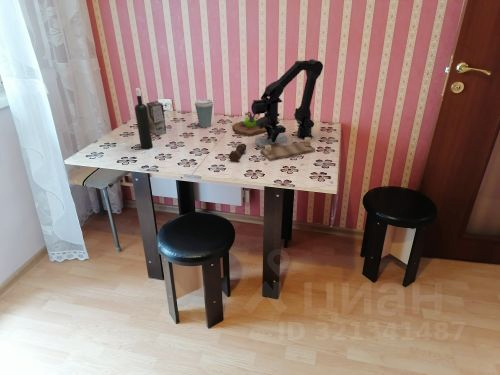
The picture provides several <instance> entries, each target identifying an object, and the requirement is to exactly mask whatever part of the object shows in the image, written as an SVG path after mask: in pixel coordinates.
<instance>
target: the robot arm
mask: <svg viewBox="0 0 500 375" xmlns="http://www.w3.org/2000/svg"><path fill="white" fill-rule="evenodd" d="M323 69H324V64H323V62H321V61H320V60H317V59H314V58H311V59H309V60H295V62H294V64H293V65H292V66H291V67H289V69H288V70H286V72H284V74H283V75H282V76H281V77H280V78H279V79H277V80H275V81H273V82H271V83H270V84H268V85H267V86H266V87H265V89H264V91H263V93H262V95H261V96H260V99H254V100H252V103H251V106H250V107H251V114H253V115H255V114H256V115H258V114H260V115H261V114H264V115H263V116H262V117H260V118H257V120H256V121H255V122H256V125H257V127H259V128H260V129H262V128H263V127H264V128H265V129H266V136H272V142H275V140H276V139H277V137H278V135H279V134H283V133H284V134H285V133H286V131H287V130H286V127H285V126H284V125H282V124H280V121H279V120H278V119H279V117H280V113H279V103H282V102H283V100H282V99H281V98H280V97H281V96H282V95H283V92H284V90H285V88H286V87H287V86H288V85H289V84H290V83H291V82H292V81H293V80H294V79H295V78H296V77H297V76H298V75H299V74H300V73H301V72H303V71H305V74H306V80H305V84H304V87H303V88H304V89H303V93H302V98H301V102H300V106H299V107H298V108H297V107H295V112H294V115H293V116H294V119H295V122H296V123H297V125H298V128H297V133H296V136H297V137H299V138H300V139H302V140H305V137H310V138H313V137H314V136H313V135H312V128H314V126H315V122H314V121H313V120H312V119H311V117H312V113H311V112H312V111H311V105H312V99H313V96H314V91H315V88H316V83H317V80H318V78H319V77H320V76H321V74H322V71H323ZM256 115H255V116H256Z"/></svg>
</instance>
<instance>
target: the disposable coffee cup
mask: <svg viewBox="0 0 500 375" xmlns="http://www.w3.org/2000/svg"><path fill="white" fill-rule="evenodd" d="M194 106H195V111H196V115H197V121H198V126H199V127H200V128H203V129H204V128H210V127H211V124H212V117H213V106H214V101H213V100H212V99H207V98H206V99H205V98H204V99H199V100H196V101H195V102H194Z"/></svg>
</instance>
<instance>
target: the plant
mask: <svg viewBox="0 0 500 375" xmlns="http://www.w3.org/2000/svg"><path fill="white" fill-rule="evenodd" d="M252 114H253V113H252V111H247V112H245V113H244V115H245V116H248V118H246V117H244V118H243V120H241V121H239V122H236V123H233V124H232V126H231V127H232V129H231V130H233V132H234V133H235V134H237V135H240V136H245V137H254V136H258V135H262V134H267V132H266V129H265V128H264V127H263V128H262V129H260V128H259V127H257V125H256V122H255V121H256V120H258V118H256V117H255V116H256V115H257V116H258V117H260V116H261V114H255V115H254V114H253V115H252Z"/></svg>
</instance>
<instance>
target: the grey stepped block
mask: <svg viewBox="0 0 500 375" xmlns="http://www.w3.org/2000/svg"><path fill="white" fill-rule="evenodd" d="M287 141H288V135H287V134H285V133H280V134H279V135H278V137H277V139H276V140H275V142H272V136H268V135H266V136H256V137H255V140H254V143H255V144H256V145H257V146H258V147H259V148H263V147H264V148H265V145H275V144H280V143H284V142H285V143H286V142H287Z"/></svg>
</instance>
